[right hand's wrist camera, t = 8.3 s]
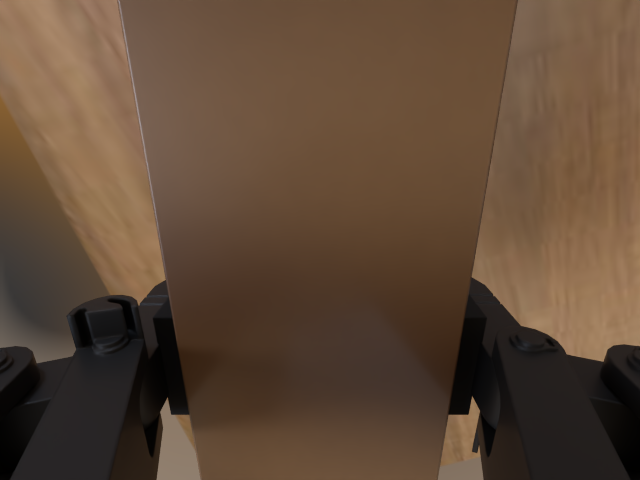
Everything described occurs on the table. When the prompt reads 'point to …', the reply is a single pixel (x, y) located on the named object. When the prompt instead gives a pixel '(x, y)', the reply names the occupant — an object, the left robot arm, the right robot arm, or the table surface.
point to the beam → (318, 219)
